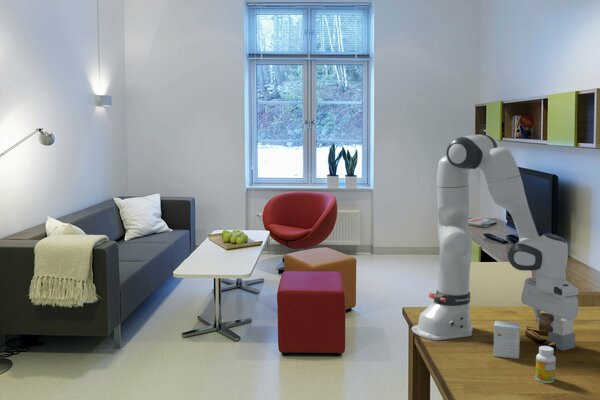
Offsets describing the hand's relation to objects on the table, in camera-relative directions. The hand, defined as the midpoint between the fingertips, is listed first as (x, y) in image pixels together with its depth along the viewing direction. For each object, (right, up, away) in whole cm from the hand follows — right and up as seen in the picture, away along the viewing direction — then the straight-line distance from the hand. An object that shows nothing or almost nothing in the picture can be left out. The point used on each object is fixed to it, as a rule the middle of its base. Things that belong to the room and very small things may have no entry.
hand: (546, 324), depth 209 cm
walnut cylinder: (0, -2, 0) cm, 2 cm away
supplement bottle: (-9, -12, -21) cm, 26 cm away
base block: (+7, -9, +6) cm, 13 cm away
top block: (+7, -4, +5) cm, 10 cm away
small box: (-14, -10, -1) cm, 17 cm away
